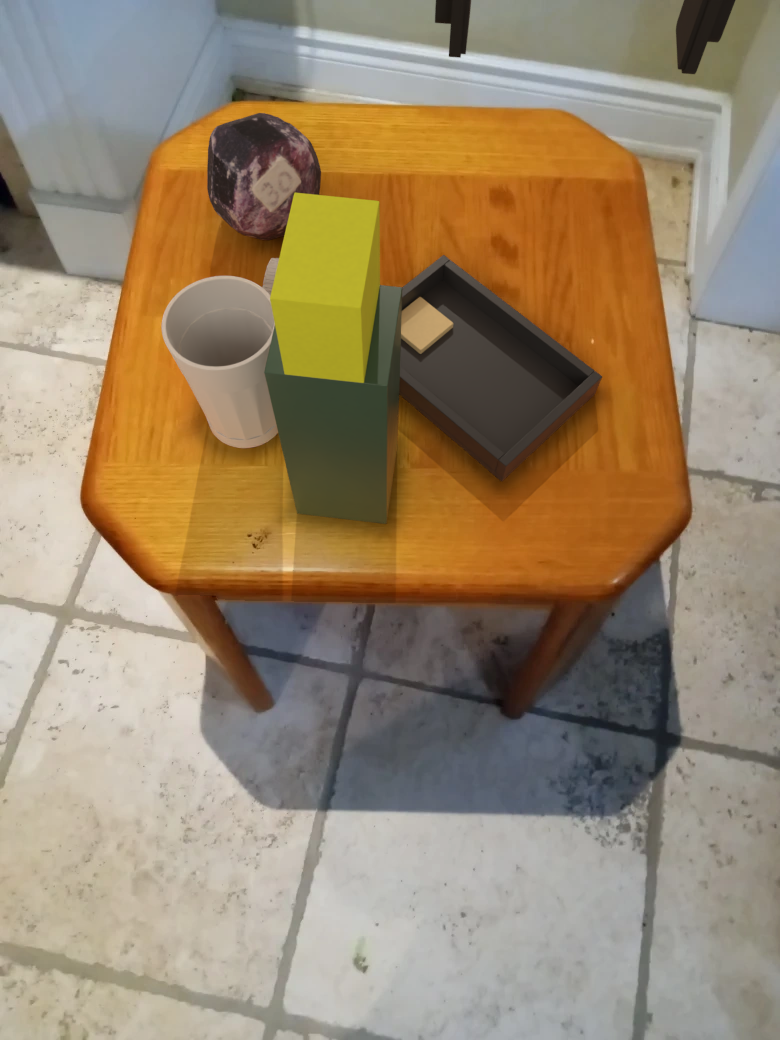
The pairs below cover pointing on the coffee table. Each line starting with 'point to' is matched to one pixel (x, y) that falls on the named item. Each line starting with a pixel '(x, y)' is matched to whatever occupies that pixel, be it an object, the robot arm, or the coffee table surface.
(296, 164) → the mineral specimen
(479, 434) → the pan
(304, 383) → the tall green box
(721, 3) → the robot arm
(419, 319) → the beige flat square block
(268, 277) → the wristwatch
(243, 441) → the cup
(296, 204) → the yellow-green rectangular block
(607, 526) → the coffee table surface
